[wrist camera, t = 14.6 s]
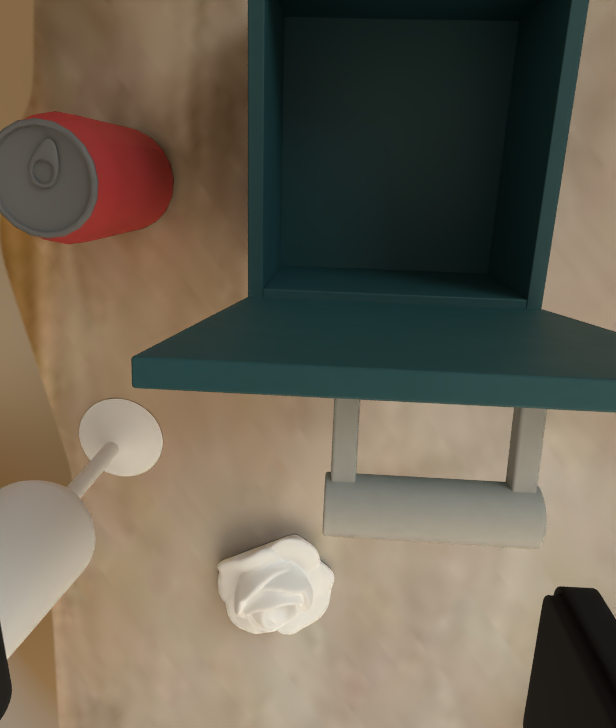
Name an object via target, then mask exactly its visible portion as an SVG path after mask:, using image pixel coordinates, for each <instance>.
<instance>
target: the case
mask: <svg viewBox="0 0 616 728" xmlns="http://www.w3.org/2000/svg"><path fill="white" fill-rule="evenodd" d="M588 4H589V0H248V297H257V298H281V299H305V300H328V301H352V302H375V303H399V304H422V305H446V306H470V307H493V308H517V309H540V310H541V307H542V301H543V294H544V288H545V282H546V275H547V269H548V262H549V256H550V249H551V243H552V236H553V230H554V224H555V217H556V211H557V204H558V198H559V191H560V185H561V178H562V172H563V166H564V159H565V153H566V146H567V140H568V133H569V127H570V120H571V114H572V108H573V101H574V95H575V88H576V82H577V75H578V69H579V62H580V56H581V50H582V43H583V37H584V30H585V24H586V17H587V11H588Z"/></svg>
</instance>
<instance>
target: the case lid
mask: <svg viewBox="0 0 616 728" xmlns="http://www.w3.org/2000/svg"><path fill="white" fill-rule="evenodd" d="M131 361H132V386H133V387H134V388H144V389H164V390H183V391H203V392H223V393H242V394H262V395H282V396H301V397H321V398H334V418H333V439H332V460H331V472H326V476H325V493H324V513H323V535H324V536H333V537H349V538H365V539H381V540H397V541H413V542H429V543H445V544H461V545H477V546H493V547H509V548H525V549H538V548H540V546H541V545H542V543H543V541H544V537H545V532H546V508H545V502H544V498H543V495H542V492H541V490H540V488H539V487H538V486H537V485H538V477H539V468H540V460H541V452H542V444H543V436H544V428H545V420H546V411H547V409H558V410H577V411H597V412H616V332H614V331H611V330H608V329H605V328H601V327H598V326H595V325H592V324H588V323H585V322H582V321H579V320H575V319H572V318H569V317H566V316H562V315H559V314H556V313H552V312H549V311H546V310H540V309H517V308H493V307H470V306H446V305H422V304H399V303H375V302H352V301H328V300H305V299H281V298H257V297H247V298H245V299H243V300H241V301H239V302H237V303H235V304H234V305H232V306H230V307H228V308H226V309H224V310H222V311H220V312H218V313H216V314H214V315H212V316H210V317H208V318H207V319H205V320H203V321H201V322H199V323H197V324H195V325H193V326H191V327H189V328H187V329H185V330H183V331H181V332H180V333H178V334H176V335H174V336H172V337H170V338H168V339H166V340H164V341H162V342H160V343H158V344H156V345H154V346H153V347H151V348H149V349H147V350H145V351H143V352H141V353H139V354H137V355H135V356H133V357H132V359H131ZM360 399H361V400H380V401H400V402H420V403H439V404H459V405H479V406H499V407H514V413H513V422H512V431H511V440H510V449H509V458H508V467H507V476H506V482H496V481H478V480H461V479H443V478H426V477H408V476H391V475H373V474H356V464H357V446H358V428H359V411H360Z"/></svg>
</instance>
